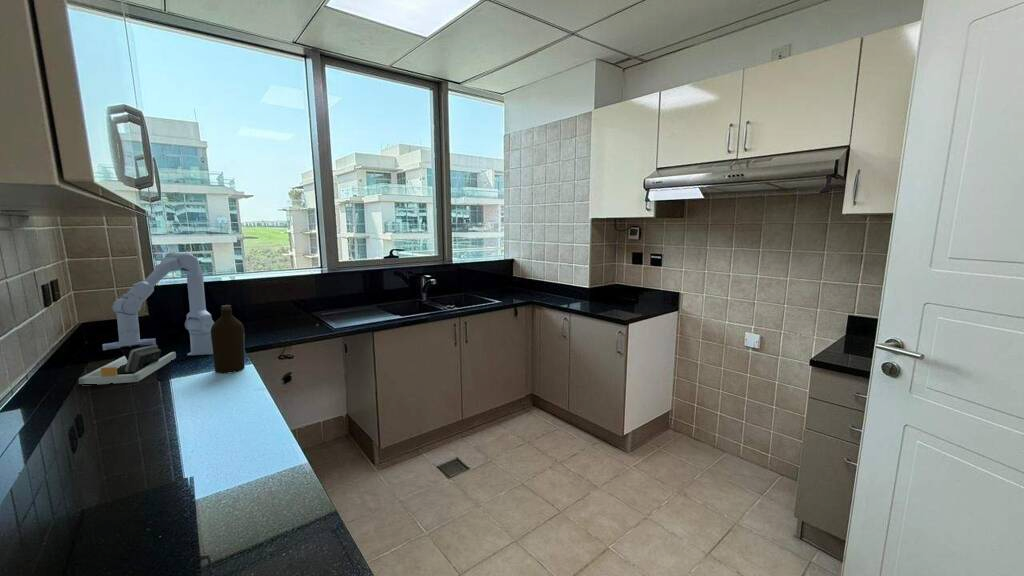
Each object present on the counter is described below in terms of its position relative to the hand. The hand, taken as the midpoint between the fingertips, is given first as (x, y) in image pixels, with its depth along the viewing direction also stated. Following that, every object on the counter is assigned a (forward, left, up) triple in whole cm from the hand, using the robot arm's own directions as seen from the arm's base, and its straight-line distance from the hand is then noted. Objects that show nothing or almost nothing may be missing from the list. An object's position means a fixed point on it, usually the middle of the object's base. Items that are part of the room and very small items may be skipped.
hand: (132, 365), depth 156 cm
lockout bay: (0, 0, -2) cm, 2 cm away
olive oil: (-34, +7, -2) cm, 34 cm away
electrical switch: (-4, +1, -2) cm, 4 cm away
